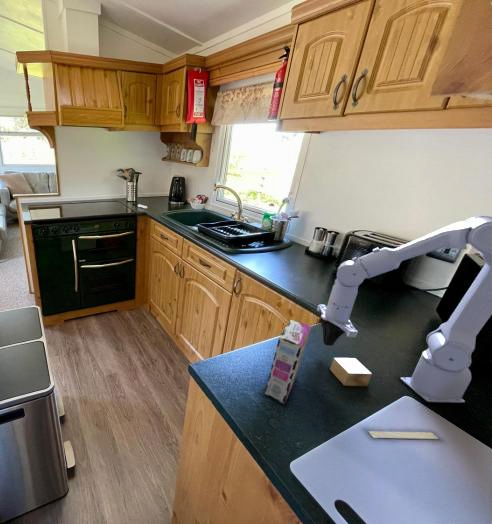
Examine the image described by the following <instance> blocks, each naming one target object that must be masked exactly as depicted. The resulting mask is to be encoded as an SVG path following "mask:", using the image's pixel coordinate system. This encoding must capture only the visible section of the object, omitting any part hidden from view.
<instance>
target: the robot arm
mask: <svg viewBox="0 0 492 524" xmlns="http://www.w3.org/2000/svg"><path fill="white" fill-rule="evenodd" d="M467 245H470V246H471V247H472V248H474V249H475V250H476V251H477V252H478V254H479V255H480V257H481V258H482V260H483V261H484V262H485V264H484V265H483V266H482V268H481V270H480V271H479V273H478V274H477V276H476V277H475V279H474V280H473V282H472V283H471V285H470V287H469V288H468V290H467V291H466V293H465V294H464V295H463V297H462V298H461V300H460V302H459V303H458V305H457V306H456V308H455V309H454V311H453V312H452V314H451V315H450V316H449V318H448V320H447V321H445V322H443V323H441V324H440V325H439V327H438V328H437V329H435V330H434V331H431V332H429V333H428V334H427V336H426V339H425V340H426V341H425V342H426V344H427V346H428V347H427V349H425V350H423V351H422V352H421V355H420V357H419V360H418V362H417V364H416V366H415V369H414V370H413V373H412V376H411V377H409V376H408V377H407V376H406V377H405V376H404V377H403V376H401V377H400V380H401V381H402V382H403V383H404V384H405V385H407V387H409V388H410V389H411V390H412V391H414V392H415V393H416V394H417V395H418V396H420V398H422V399H423V400H425V401H426V402H428V403H452V404H453V403H454V404H457V403H458V404H459V403H461V404H464V403H465V402H466V400H464V399H463V396H464V394H465V392H466V391H467V389H468V387H469V385H470V383H471V381H472V372H471V370H470V369H469V368H470V367H471V364H472V353H473V352H474V351H475V349H476V339H477V335H478V334H479V333H480V331H482V329H483V327H484V326H485V324H486V323H487V322H488V320H489V319H490V318H491V316H492V216H489V215H477V216H472V217H470V218H467V219H466V220H465V221H462V220H461V221H458V222H455V223H452V224H449V225H447V226H444V227H442V228H440V229H438V230H436V231H433V232H431V233H428V234H426V235H423V236H422V237H419V238H417V239H414V240H412V241H410V242H408V243H405V244H402V245H401V246H399V247H396V248H389V247H381V248H379V247H375V248H373V249H372V252H370V253H368V254H364V255H362V256H360V257H357V256H355V257H352V258H351V260H345V261H343V262H342V263H340V265H339V266H337V272H336V279H335V280H334V284H333V285H332V289H331V291H330V295H329V298H328V302H327V305H325V304H317V308H316V311H317V312H319V313H321V315H320V318H321V319H320V324H321V329H322V342H323V344H324V345H325V346H334V344H336V341H338V339H339V338H340V337H341V336H342V335H344V334H346V337H347V338H357V336H358V332H359V331H358V330H357V329H356V328H355V326H354V325H353V324H352V322H351V320H350V317H351V314H352V311H353V308H354V305H355V302H356V298H357V296H358V293H359V292H358V291H359V290H358V289H359V286H360V285H361V284H362V283H363V282H364V280H365V279H371V278H373V277H376V276H379V275H382V274H385V273H387V272H390V271H394V270H397V269H399V268H400V265H401V263H402V262H403V261H406V260H409V259H413V258H415V257H418V256H421V255H425V254H429V253H431V252H435V251H437V250H441V249H443V248H449V249H450V248H451V249H460V250H467V249H468V248H467Z"/></svg>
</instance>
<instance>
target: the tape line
mask: <svg viewBox="0 0 492 524" xmlns="http://www.w3.org/2000/svg"><path fill="white" fill-rule="evenodd" d="M367 433H368V434H369V435H370V436H371V437H372V438H373V439H411V440H416V439H418V440H439V437H437V435H435V434H434V433H433V432H429V431H428V432H426V431H425V432H424V431H386V430H385V431H383V430H382V431H381V430H380V431H379V430H368V431H367Z"/></svg>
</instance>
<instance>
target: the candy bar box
mask: <svg viewBox="0 0 492 524" xmlns="http://www.w3.org/2000/svg"><path fill="white" fill-rule="evenodd" d="M311 330H312V326H310V325H308V324H304V323H302V322H300V321H296V320H293V319H290V320H289V322H288V324H287V325H286V326H285V328H284V329H283V331H282V332H281V333H280V335H279V337H278V339H277V345H276V348H275V353H274V355H273V360H272V364H271V368H270V371H269V375H268V379H267V382H266V386H265V391H264V395H265V396H267V397H270V398H271V399H273V400H275V401H277V402H279V403H281V404H283V405H285V404H286V402H287V400H288V397H289V395H290V393H291V391H292V389H293V386H294V384H295V381H296V379H297V376H298V373H299V370H300V366H301V363H302V362H301V361H302V359H303V356H304V352H305V349H306V346H307V342H308V339H309V336H310V333H311Z"/></svg>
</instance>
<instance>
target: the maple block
mask: <svg viewBox="0 0 492 524" xmlns="http://www.w3.org/2000/svg"><path fill="white" fill-rule="evenodd" d="M329 370H330V371H331V373H332V374H333V375H334V376H335V377H336V378H337V380H339V382H341V384H342V385H343V386H345V387H347V386H348V387H368V385H369V383H370V380H371V377H372V375H373V374H372V372H371V371H370V370H369V369H368V368H366V367H365V366H364V365H363V364H362V363H361V362H360V361H359V360H358V359H357V358H356V357H333V359H332V362H331V365H330V368H329Z"/></svg>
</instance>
